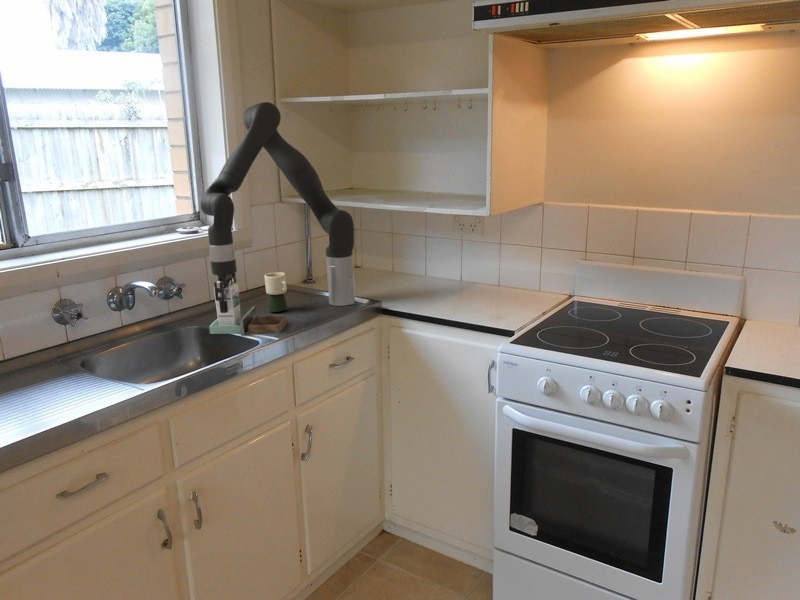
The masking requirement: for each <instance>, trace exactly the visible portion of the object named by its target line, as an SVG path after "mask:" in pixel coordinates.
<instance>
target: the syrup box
mask: <svg viewBox="0 0 800 600" xmlns="http://www.w3.org/2000/svg"><path fill="white" fill-rule="evenodd" d="M226 290H227V287H226V288H224V291H226ZM213 294H214V295H215V287H213ZM221 297H222V295H221ZM214 299H215V300H214V301H215V308H216V316H217V319H218V324H219V326H227V325H240V321H239V320H240V319H241V318H242V316H243V314H242V313H243V311H242V306H241V305H242V304H241V297H240V289H239V283H238V282H237V283H231V286H229V294H228V295H227V306H228V312H227V313H221V312H220V305H219V301H216V298H215V297H214Z"/></svg>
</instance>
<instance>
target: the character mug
mask: <svg viewBox="0 0 800 600" xmlns="http://www.w3.org/2000/svg"><path fill="white" fill-rule="evenodd" d="M264 286H265V292H266V294H268V295H269V297H268V311H269V312H271V313H274V312H275V313H277V312H281V313H282V311H287V310H288V303H287V300H286V296H285V293H286V292H287V290H288V287H287V277H286V273H285V272H280V271H279V272H278V271H276V272H269V273H265V274H264Z"/></svg>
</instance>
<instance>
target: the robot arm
mask: <svg viewBox="0 0 800 600" xmlns="http://www.w3.org/2000/svg"><path fill="white" fill-rule="evenodd" d="M280 112H281V111H280V110H279V108H278V107H277V105H275V104H274V103H272V102H269V101H263V102H259V103H256V104H253V105H250V106H249V107H248V108H246V109H245V110H244V113H243V117H242V118H243V122H244V123H243V124H244V126H245V128H246V130H247V133H246V134H245V135H244V137H243V139H242V140H241V142H240V143H239V144H238V146H237V147H235V149H234V150H233V151H232V152H231V154H230V155H229V157H228V158H227V159H226V161H225V163H224V165H223V167H222V169H221V170H220V171H219V174H218V177H217V178H216V179H215V180H214V181H213V182H212V183H211V184H210V185H209V187H208V188H207V189H206V190H205V192H204V193H203V195H202V197H201V200H200V209H201V211H202V212H203V213H204V214H205V215H207V216H211V217H213V224H211V225H209V226H208V228H207V234H208V235H207V236H208V243H209V245H208V246H209V260H210V268H211V269H210V270H211V274H212V275H213V276H217V281H214V282H213V286H214V287H215V294H214V299H215V298H216V301H219V305H220V312H221V313H227V312H228V306H227V295H228V294H229V286H231V283H238V282H237V277H236V273H237V272H238V268H237V258H236V250H235V246H234V240H233V230H232V229H233V224H234V223H233V222H234V215H235V203H234V202H233V199H232V197H231V196H230V195H231V194H233V193H235V192H238V190H239V189H240V188H241V186H242V184H243V182H244V181H245V178H246V176H247V175H248V172H249V171H250V169H251V167H252V165H253V164H254V162H255V160H256V158H257V157H258V155H259V154H260V153H261V150H262V149H264V150H265V151H266V152H267V154H269V156H270V158H272V160H273V161H274V163H275V164H276V166H277V167H278V168H279V170H280V171H281V173H283V175H284V176H285V179H286V180H287V181H288V182H289V184H290V185H291V186H292V188H293V189H294V190H295V191H296V193H297V194H298V195H299V197H301V199H302V200H303V202H305V203H306V205H308V208H309V209H310V210H311V212H312V214H313V215H314V217H315V218H316V220H317V222H318V224H319V226H320V227H321V229H322V230H323V231H324V232H325V233H327V234H328V246H327V247H326V249H325V257H326V260H325V261H326V273H327V275H326V276H327V289H328V302H329V305H331V306H335V307H336V306H337V307H338V306H339V307H340V306H341V307H343V306H350V305H355V303H356V301H355V298H356V297H357V296H356V295H357V294H356V278H355V274H354V260H353V259H354V258H353V249H354V246H355V227H354V226H355V225H354V219H353V217H352V215H351V213H349V212H348V211H346V210H343V209H340V208H338V207H336V205H335V204H334V203H333V202H332V201H331V199H330V198H329V197H328V195H327V194H326V192H325V190H324V188H323V187H324V186H323V185H322V181H321V179H320V176H319V175H318V173H317V171H316V169H315V168H314V166H313V165H312V164H311V163H310V161H309V160H308V158H307V157H306V156H305V154H303V153H301V151H300V150H298V149H297V148H295V147H294V146H293V145H291V144H290V143H289V142H287V140H285V139H284V138H283V137H282V135H281V134H280V133H279V131H278V130H277V128H279V126H280V123H281V113H280ZM214 287H213V288H214ZM226 287H227V290H226V291H224V288H226ZM221 295H222V297H221Z"/></svg>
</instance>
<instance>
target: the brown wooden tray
mask: <svg viewBox="0 0 800 600" xmlns="http://www.w3.org/2000/svg"><path fill="white" fill-rule="evenodd" d="M287 316H288V315H257V316H256V317H255V318H254V319H253V320H252V321H251V322H250V323H249V324H248V332H247V334H275V333H276V334H281V332H282V331H283V329H284V328H285V326H286V325H287V323H288V319H287Z"/></svg>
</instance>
